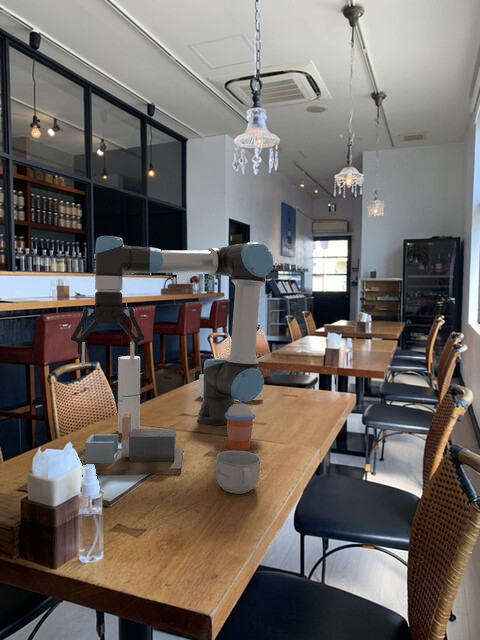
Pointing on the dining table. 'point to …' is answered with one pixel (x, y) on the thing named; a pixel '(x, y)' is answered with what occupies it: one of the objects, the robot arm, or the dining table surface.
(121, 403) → the cylindrical container
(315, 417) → the dining table surface
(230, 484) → the teacup
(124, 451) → the grey block with peg
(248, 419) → the cup with straw
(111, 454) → the socket block
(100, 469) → the walnut base board
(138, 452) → the outer sleeve
